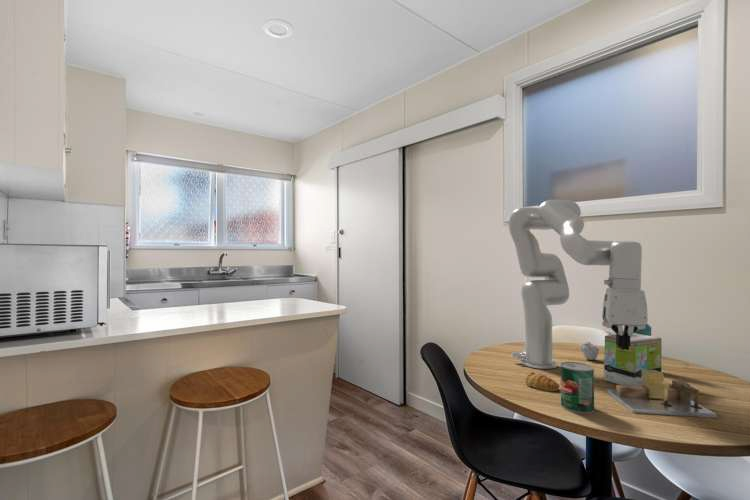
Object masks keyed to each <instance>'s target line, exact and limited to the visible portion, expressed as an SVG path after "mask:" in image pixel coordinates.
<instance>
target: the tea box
mask: <svg viewBox="0 0 750 500" xmlns="http://www.w3.org/2000/svg"><path fill="white" fill-rule="evenodd" d="M662 343H663V342H662V337H658V336H652V335H651V336H647V335H641V334H636V333H633V335H632V336H630V346H629V350H626V349H624V350H622V349H620V348H618V347H617V345H616V333H614V334H609V335H604V356H603V358H604V359H603V360H604V362H603V363H604V364H603V365H604V369H603V370H604V372H603V379H604V381H606V382H610V383H613V384H616V385H623V386H641V387H642V370H656V371H658V372H660V373H662V358H663V357H662V346H663V345H662Z"/></svg>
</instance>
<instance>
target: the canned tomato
mask: <svg viewBox="0 0 750 500" xmlns="http://www.w3.org/2000/svg"><path fill="white" fill-rule="evenodd" d="M559 366H560V406H561V407H562V408H563V409H565V410H567V411H569V412H571V413H577V414H587V415H588V414H592V413H595V368H594V366H591V365H590V364H586V363H582V362H576V361H575V362H574V361H562V362H561V363H560V364H559Z"/></svg>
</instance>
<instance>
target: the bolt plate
mask: <svg viewBox="0 0 750 500" xmlns="http://www.w3.org/2000/svg"><path fill="white" fill-rule="evenodd" d="M607 394H608V395H609V396H611V397H612V398H614V400H616V401H617V402H619V403H620V404H621V405H623V407H625V408H627V410H629V412H630V411H631V412H632V413H635V414H636V413H637V414H638V413H639V414H650V415H666V416H667V415H668V416H680V417H681V416H683V417H695V418H696V417H697V418H711V419H713V418H714V419H717V418H718V415H717V413H716V412H714V411H712V410H710V409H709V408H707V407H705V406H703V405H701V404H699V403H698V407H694V400H692V399H691V401H680V400H677V399H668V404H664V399H660V398H643V397H626V396H619V395H618V394H616V389H615V390H614V389H607Z"/></svg>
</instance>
